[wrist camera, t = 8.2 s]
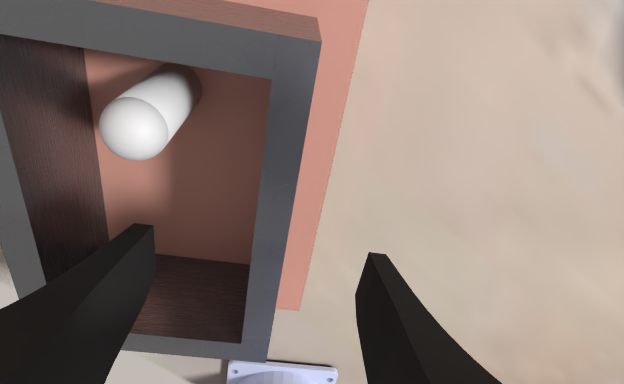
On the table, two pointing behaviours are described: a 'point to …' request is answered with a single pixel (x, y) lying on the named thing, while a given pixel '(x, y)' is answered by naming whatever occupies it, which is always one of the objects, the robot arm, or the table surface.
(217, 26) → the gray open box
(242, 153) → the board
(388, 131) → the table surface
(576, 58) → the table surface
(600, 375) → the table surface
